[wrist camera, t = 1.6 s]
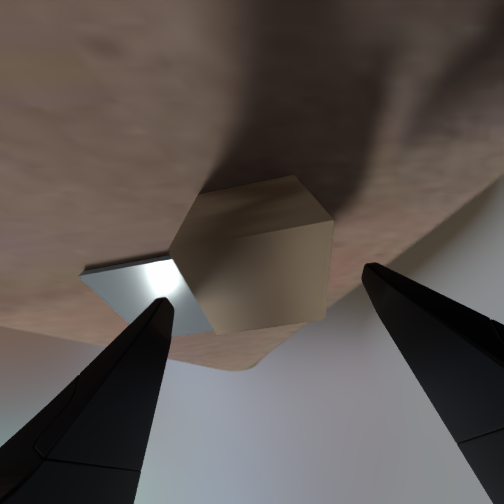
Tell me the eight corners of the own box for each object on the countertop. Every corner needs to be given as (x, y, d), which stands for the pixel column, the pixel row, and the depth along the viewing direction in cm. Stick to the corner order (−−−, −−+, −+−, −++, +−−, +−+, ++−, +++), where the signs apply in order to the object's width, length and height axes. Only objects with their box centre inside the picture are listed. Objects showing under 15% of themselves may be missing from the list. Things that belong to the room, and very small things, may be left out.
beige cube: (294, 174, 11) (334, 220, 6) (297, 252, 15) (325, 319, 10) (198, 194, 12) (167, 250, 7) (224, 264, 15) (216, 335, 10)
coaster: (204, 248, 14) (203, 253, 13) (235, 322, 20) (235, 327, 19) (83, 270, 15) (78, 276, 14) (148, 335, 21) (146, 340, 20)
